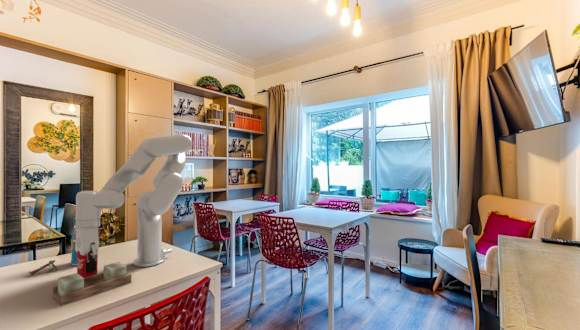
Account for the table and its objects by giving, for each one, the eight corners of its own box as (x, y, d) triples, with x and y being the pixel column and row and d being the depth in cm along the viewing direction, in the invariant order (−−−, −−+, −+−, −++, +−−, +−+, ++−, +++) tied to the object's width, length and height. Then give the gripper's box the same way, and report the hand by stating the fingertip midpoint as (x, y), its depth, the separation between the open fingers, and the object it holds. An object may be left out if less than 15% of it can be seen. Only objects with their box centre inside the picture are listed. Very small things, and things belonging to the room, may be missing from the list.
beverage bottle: (67, 263, 114) (68, 217, 114) (91, 257, 121) (91, 214, 121) (73, 267, 109) (74, 220, 109) (97, 262, 116) (98, 217, 116)
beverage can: (84, 273, 103) (84, 243, 103) (101, 273, 104) (101, 243, 104) (72, 280, 97) (73, 248, 97) (90, 280, 98) (90, 248, 98)
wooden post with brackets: (60, 268, 106) (54, 259, 105) (35, 281, 101) (28, 272, 100) (59, 267, 108) (54, 258, 106) (35, 280, 103) (28, 271, 101)
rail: (119, 275, 103) (119, 260, 103) (131, 282, 97) (131, 266, 97) (52, 295, 86) (52, 277, 86) (61, 305, 80) (61, 286, 80)
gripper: (68, 221, 103) (67, 267, 103) (84, 228, 92) (83, 279, 93) (91, 218, 109) (90, 261, 109) (108, 224, 99) (107, 272, 99)
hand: (87, 269), depth 101 cm, fingers closed on beverage can, 6 cm apart
